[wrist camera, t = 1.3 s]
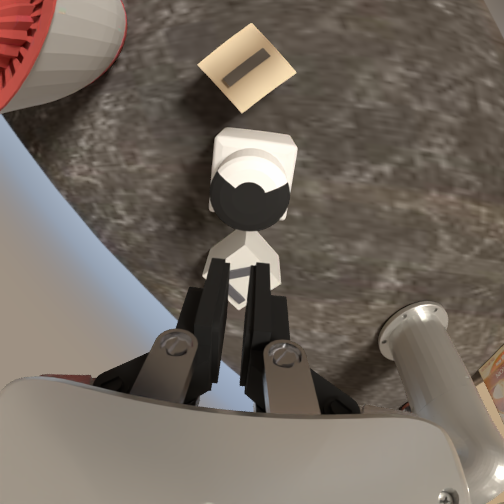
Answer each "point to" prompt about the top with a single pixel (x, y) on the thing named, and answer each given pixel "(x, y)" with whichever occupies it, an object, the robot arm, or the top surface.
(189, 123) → the top surface
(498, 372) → the coffeecake box
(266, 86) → the maple block one
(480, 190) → the top surface
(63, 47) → the citrus juicer
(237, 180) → the medicine bottle
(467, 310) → the top surface
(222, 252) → the white marked cube
